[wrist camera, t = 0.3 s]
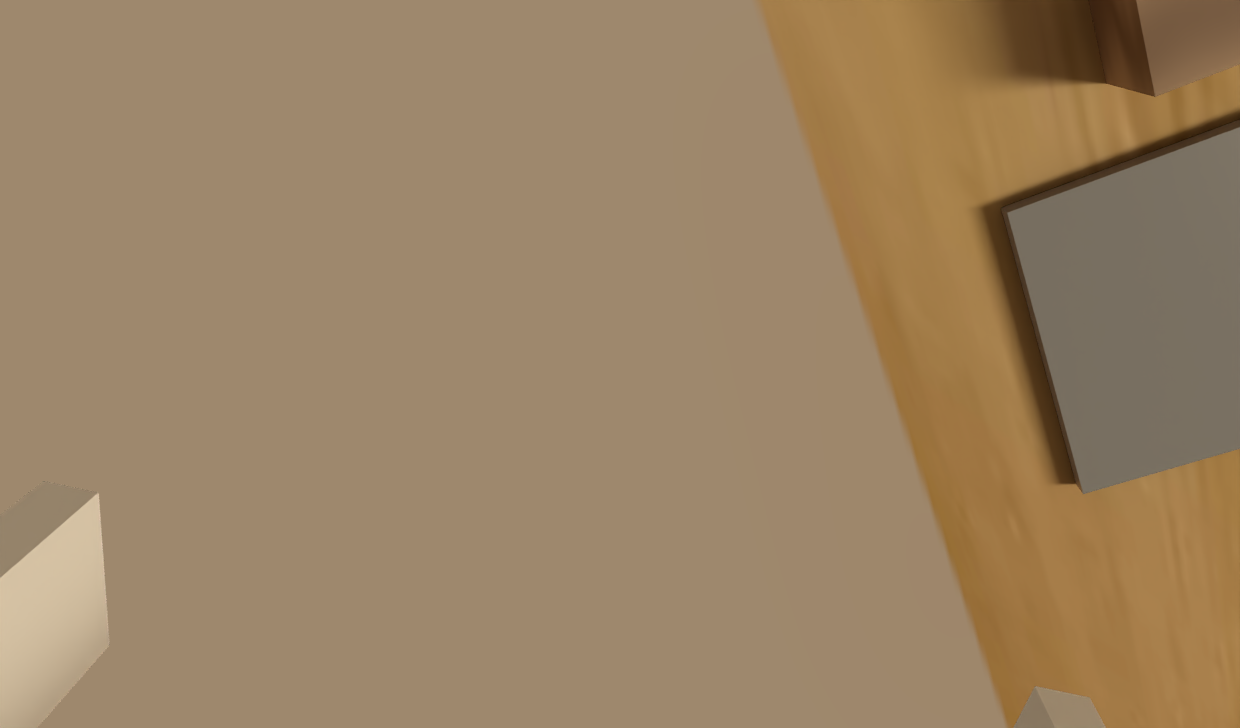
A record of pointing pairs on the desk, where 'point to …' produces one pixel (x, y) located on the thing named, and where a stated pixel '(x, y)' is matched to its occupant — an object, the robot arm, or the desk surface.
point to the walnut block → (1165, 41)
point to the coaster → (1139, 307)
